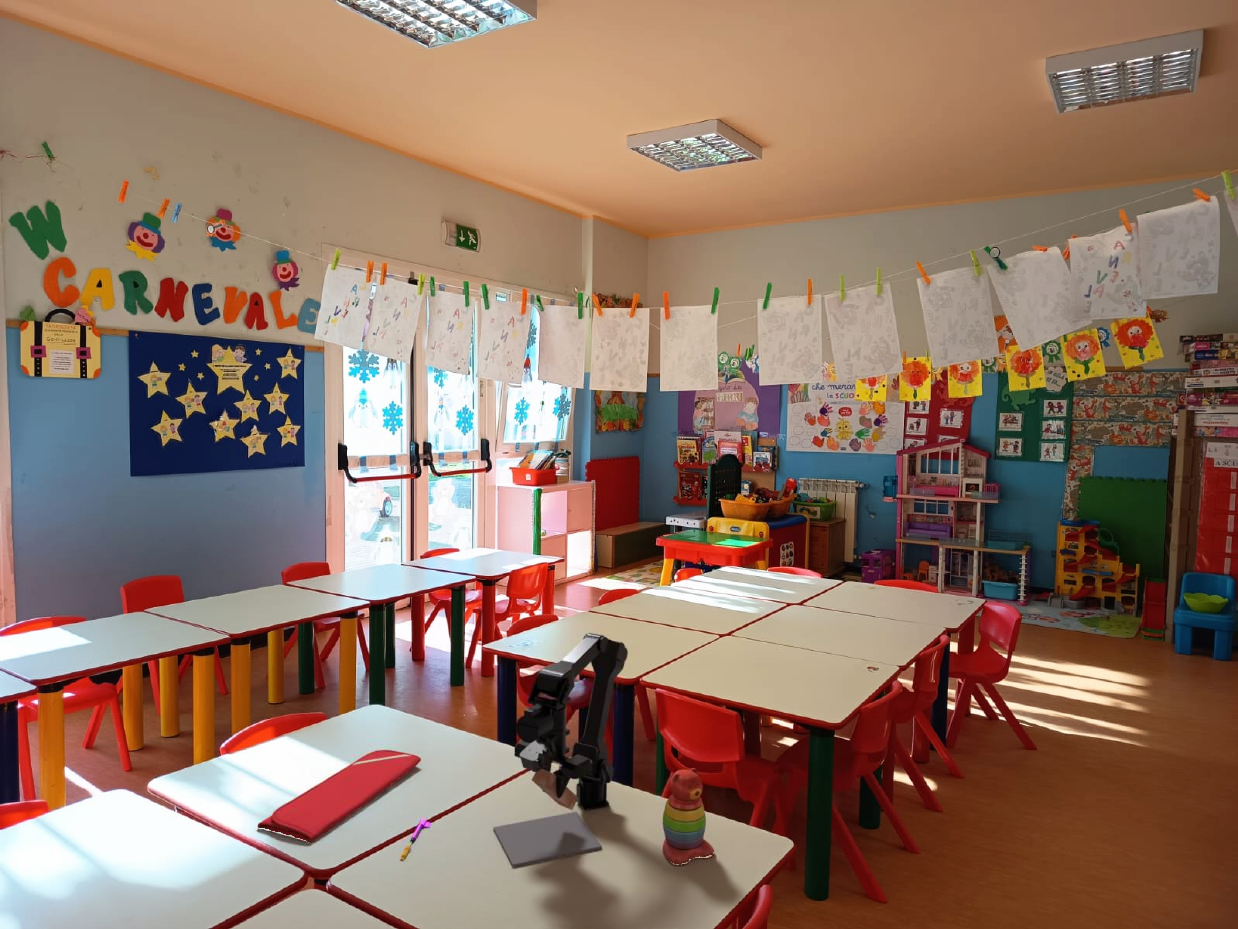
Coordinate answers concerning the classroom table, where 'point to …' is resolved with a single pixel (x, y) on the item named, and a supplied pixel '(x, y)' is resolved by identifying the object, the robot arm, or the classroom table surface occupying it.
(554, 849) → the charcoal mat
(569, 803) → the terracotta block
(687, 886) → the classroom table surface
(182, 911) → the classroom table surface
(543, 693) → the robot arm
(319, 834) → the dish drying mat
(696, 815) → the stacking bear
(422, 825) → the pink dart
